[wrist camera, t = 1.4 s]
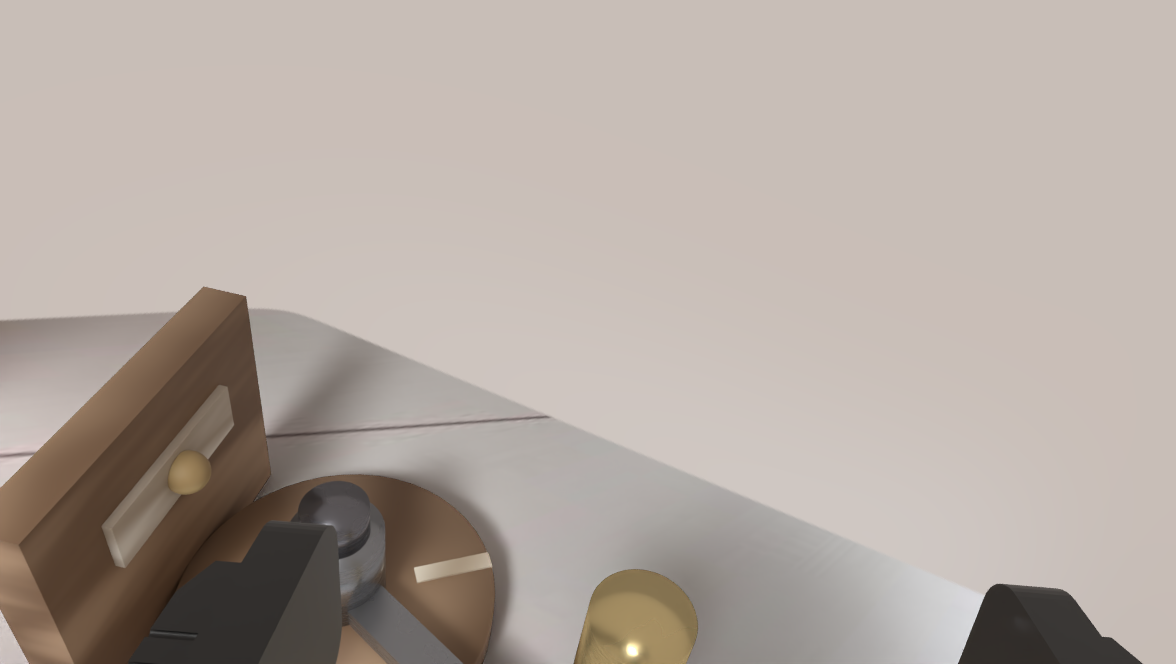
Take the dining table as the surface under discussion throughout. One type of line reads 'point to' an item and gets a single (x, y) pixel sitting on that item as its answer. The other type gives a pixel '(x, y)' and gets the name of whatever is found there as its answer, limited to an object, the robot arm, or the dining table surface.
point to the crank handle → (419, 660)
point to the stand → (196, 506)
